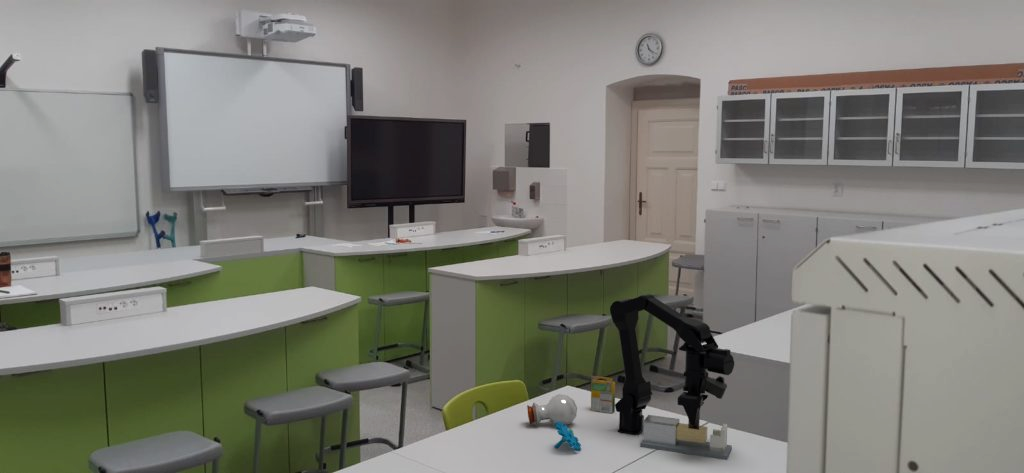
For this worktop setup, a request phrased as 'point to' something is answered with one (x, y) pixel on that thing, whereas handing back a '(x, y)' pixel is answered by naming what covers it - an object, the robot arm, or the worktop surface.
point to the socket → (719, 440)
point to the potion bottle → (554, 410)
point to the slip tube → (692, 431)
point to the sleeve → (660, 430)
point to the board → (689, 448)
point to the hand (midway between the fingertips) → (693, 422)
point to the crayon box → (602, 395)
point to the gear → (567, 437)
